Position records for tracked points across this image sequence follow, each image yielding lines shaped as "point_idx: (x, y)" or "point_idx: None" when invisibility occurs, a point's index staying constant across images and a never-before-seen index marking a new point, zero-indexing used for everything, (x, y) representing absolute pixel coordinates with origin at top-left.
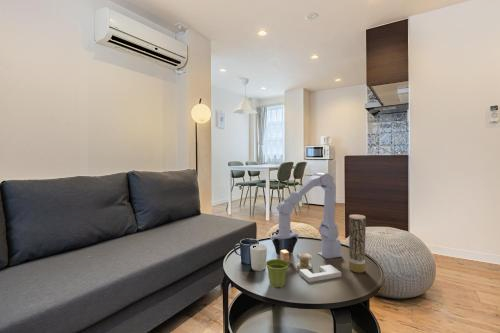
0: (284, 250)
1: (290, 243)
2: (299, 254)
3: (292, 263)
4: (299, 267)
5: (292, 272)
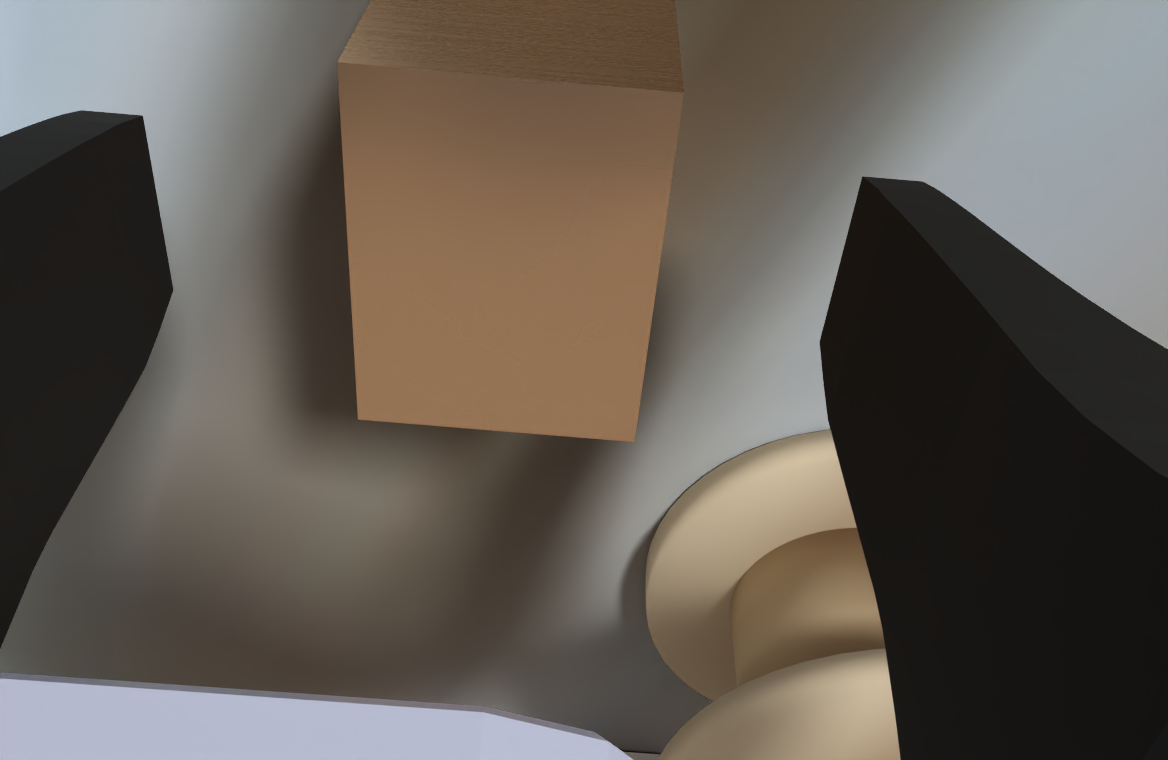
0: (555, 175)
1: (981, 481)
2: (842, 726)
3: (675, 326)
4: (652, 624)
5: (396, 661)
